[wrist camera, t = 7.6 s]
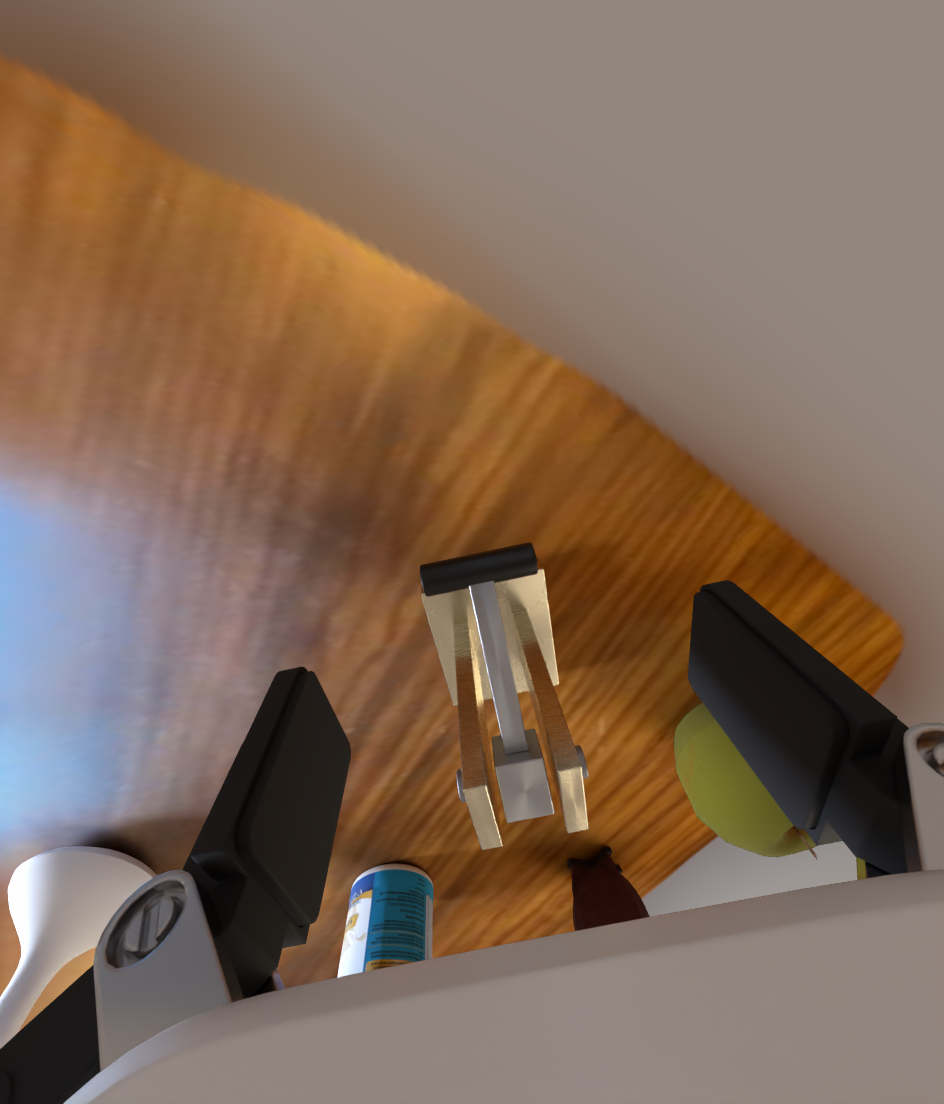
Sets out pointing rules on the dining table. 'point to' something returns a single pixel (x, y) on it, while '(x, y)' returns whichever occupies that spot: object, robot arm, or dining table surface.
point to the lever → (500, 672)
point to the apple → (731, 790)
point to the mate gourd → (602, 893)
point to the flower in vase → (61, 916)
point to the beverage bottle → (388, 919)
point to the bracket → (533, 673)
